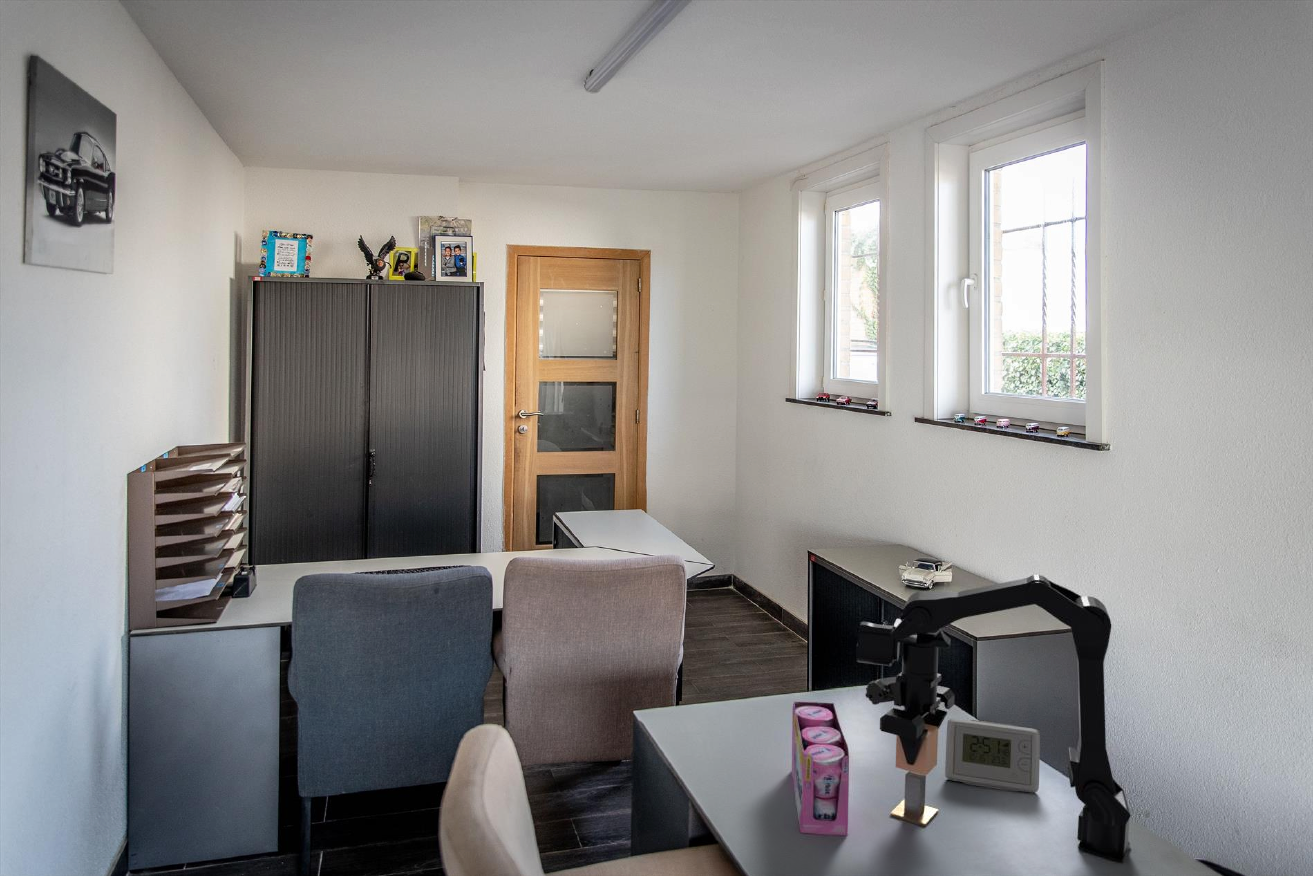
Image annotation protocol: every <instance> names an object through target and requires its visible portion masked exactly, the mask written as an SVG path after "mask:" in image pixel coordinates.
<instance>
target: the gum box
mask: <svg viewBox="0 0 1313 876" xmlns="http://www.w3.org/2000/svg"><path fill="white" fill-rule="evenodd" d="M791 716H792V721H791V724H792V726H791V727H792V730H791V731H792V732H791V777H792V784H793V789H794V796H795V797H794V798H795V805H796V810H797V817H798V825H799V830H800V831H799V832H800V833H801V834H814V835H815V834H817V835H829V836H833V835H835V836H848V831H849V829H848V827H849V826H848V825H849V795H850V793H849V791H850V790H849V789H850V788H849V787H850V786H849V785H850V752H849V746H848V743H847V741H846V739H845V735H844V733H843V729H842V727H841V724H840V721H839V717H838V714H837V711H836V706H835V703H834V702H817V701H816V702H812V701H793V703H792V715H791Z"/></svg>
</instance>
